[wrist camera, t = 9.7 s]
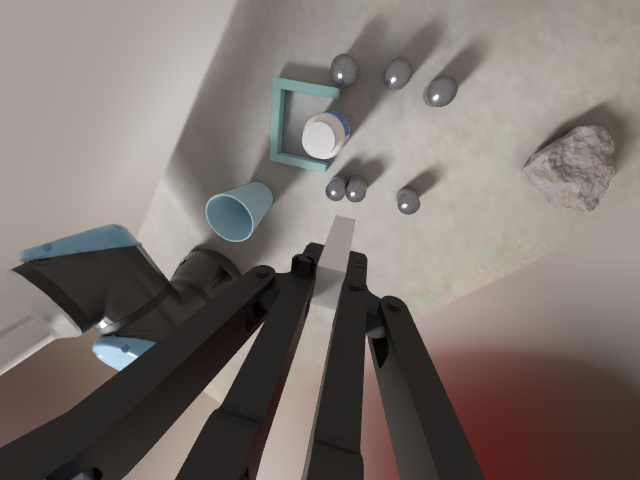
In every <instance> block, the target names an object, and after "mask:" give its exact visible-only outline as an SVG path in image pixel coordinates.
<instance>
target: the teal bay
mask: <svg viewBox="0 0 640 480" xmlns="http://www.w3.org/2000/svg"><path fill="white" fill-rule="evenodd" d="M285 90H291V91H297V92H302V93H307V94H313V95H318V96H324V97H329V98H334V99H339V98H340V92H341V89H339V88H333V87H328V86H322V85H317V84H311V83H306V82H300V81H295V80H289V79H283V78H278V77H273V85H272V108H271V131H270V154H269V161H274V162H278V163H283V164H287V165H292V166H296V167H301V168H305V169H310V170H315V171H319V172H324V173H325V172H326V171H327V167H328V162H324V161H320V160H315V159H310V158H306V157H301V156H296V155H292V154H287V153H282V152H281V148H282V134H283V119H284V104H285Z"/></svg>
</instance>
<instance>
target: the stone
mask: <svg viewBox="0 0 640 480" xmlns="http://www.w3.org/2000/svg"><path fill="white" fill-rule="evenodd" d="M615 147H616V146H615V144H614V140H612V139H611V135H609V131H608V130H607V129H606V128H604V127H601V126H597V125H587V126H577V127H575V128H573V129H572V130H571V131H570V132H568V133H567V134H566V135H565V136H563V137H561V138H559V139H557V140H555V141H554V142H552V143H551V144H549V145H547V146H546V147H545V148H544V149H542V150H540V151H539V152H537V153H535V154H533V155H532V157H531V159H530V161H529V162H528V163H527V164H526V165H525V166H524V167H523V168H522V171H523V172H526V173H527V175H528V176H529V177H530V179H531V181H532V182H533V184H534V185H535V186H536V187H538V188H539V189H540V190H541V191H543V192H545V193H547V195H548V196H549V203H550V204H552V205H554V206H560V205H563V206H565V207H566V208H573V209H576V210H579V211H585V212H591V211H593V210H594V209H595V207H596V206H598V204H599V199H600V198H601V197H602V196H603V195H604V194H605V192H606V190H607V187H608V186H609V184H608V183H609V181H610V179H611V178H612V177H613V176H614V175H615V174H616V173H617V170H616V166H615V164H616V161H615V159H614V157H613V152H614V150H615Z"/></svg>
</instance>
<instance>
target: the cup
mask: <svg viewBox="0 0 640 480" xmlns="http://www.w3.org/2000/svg"><path fill="white" fill-rule="evenodd" d="M272 203H273V194H272V192H271V190H270V189H269V188H268V187H267V186H266V185H265V184H263V183H260V182H253V183H249V184H246V185H243V186H241V187H238V188H235V189H232V190H229V191H226V192H223V193H220V194H217V195H215V196H213V197H211V198H210V199H209V201H208V202H207V205H206V218H207V220H208V223H209V225H210V226H211V228H212V229H213V230H214V231H215V232H216V233H217V234H218V235H219V236H221V237H222V238H224V239H226V240H229V241H233V242H240V241H244V240H246V239H247V238H249V237H250V236H251V234H252V233H253V231H254V230H255V229H256V227H257V226H258V224H259V223H260V221H261V220H262V219H263V217H264V216H265V214H266V213H267V212H268V210H269V209H270V207H271V206H272Z"/></svg>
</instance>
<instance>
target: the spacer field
mask: <svg viewBox="0 0 640 480" xmlns="http://www.w3.org/2000/svg"><path fill="white" fill-rule="evenodd" d="M411 75H412V66H411V63H410V62H409V60H407V59H406V58H403V57H399V58H396V59H394V60H392V61H391V62H390V63H389V65H388V66H387V68H386V71H385V76H384V82H385V85H386V87H387V88H388V89H389V90H392V91H397V90H399V89H401V88H402V87H404V86H405V85H406V84H407V83H408V82H409V80H410V78H411ZM331 76H332V78H333V80H334V81H335V82H336V83H338V84H340V85H341V86H344V87H348V86H350V85H352V84H353V83H354V82H355V81H356V79H357V76H358V68H357V65H356V64H355V62H354V60H353V58H352V57H351V56H350V55H348V54H340V55H338V56H336V57H335V59H334V60H333V62H332V64H331ZM456 93H457V83H456V81H455V80H454V79H453V78H452V77H449V76H444V77H441V78H439V79H437V80H434V81H432V82H431V83H430V84H429V85H428V86H427V87H426V89H425V91H424V95H423V98H424V102H425V103H426V104H427V105H428V106H431V107H443V106H446V105H448V104H449V103H450V102H451V101H452V100H453V99H454V98H455V96H456ZM366 187H367V183H366V180H365V179H364V178H363V177H360V176H355V177H353V178H351V179H350V181H349V183H348V181H347V179H346V178H345V177H344V176H341V175H337V176H334V177H333V178H332V179H331V181H330V182H329V184H328V185H327V187H326V195H327V197H328V198H329V199H330V200H333V201H339V200H341V199H342V198H343V197H344V195H345V194H346V197H347V199H348V200H350V201H351V202H360V201H361V200H363V199H364V197H365V194H366ZM397 203H398V208H399V210H400V211H401V212H402V213H404V214H413V213H415V212H416V211H417V210H418V209H419V207H420V201H419V198H418V196H417V194H416V192H415V190H414V189H413V188H411V187H404V188H402V189H400V190H399V191H398V193H397Z"/></svg>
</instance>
